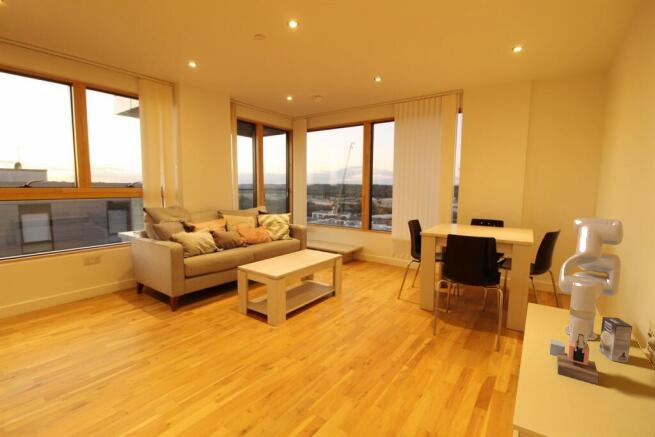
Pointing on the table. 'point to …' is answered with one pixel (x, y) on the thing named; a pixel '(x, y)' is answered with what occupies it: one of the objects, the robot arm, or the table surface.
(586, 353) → the terracotta cube
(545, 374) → the table surface
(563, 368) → the walnut block
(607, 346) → the coffee box
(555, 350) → the grey cube
